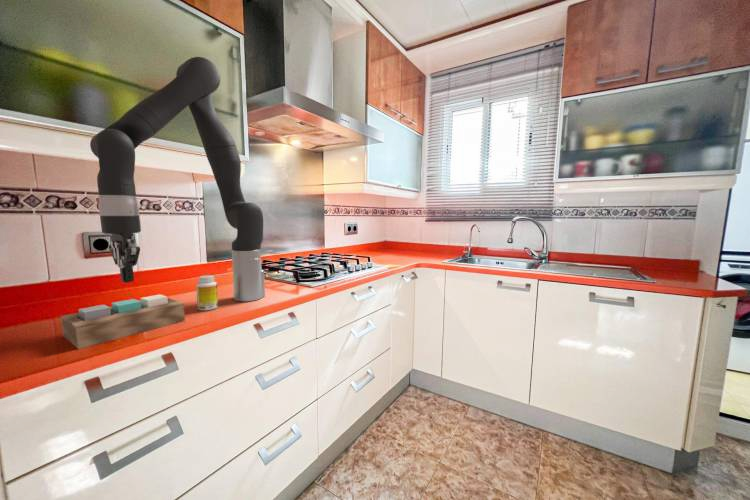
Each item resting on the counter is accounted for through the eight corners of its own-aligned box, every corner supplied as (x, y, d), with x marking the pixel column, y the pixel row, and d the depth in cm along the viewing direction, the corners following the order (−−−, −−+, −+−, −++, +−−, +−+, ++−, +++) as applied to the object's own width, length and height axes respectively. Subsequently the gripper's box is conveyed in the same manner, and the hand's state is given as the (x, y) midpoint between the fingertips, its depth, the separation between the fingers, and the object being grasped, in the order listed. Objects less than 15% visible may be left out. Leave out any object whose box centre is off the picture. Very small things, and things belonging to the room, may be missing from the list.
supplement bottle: (221, 308, 92) (219, 276, 91) (201, 312, 88) (199, 278, 87) (214, 304, 95) (213, 273, 94) (195, 308, 91) (193, 276, 90)
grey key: (105, 320, 73) (103, 304, 72) (111, 323, 70) (110, 307, 70) (80, 325, 69) (78, 309, 68) (86, 329, 66) (84, 312, 66)
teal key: (134, 313, 78) (133, 298, 77) (142, 316, 75) (140, 301, 75) (113, 318, 74) (111, 302, 73) (119, 321, 71) (118, 305, 71)
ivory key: (161, 308, 83) (160, 294, 82) (168, 310, 80) (167, 296, 80) (141, 312, 79) (140, 297, 78) (148, 315, 76) (147, 300, 76)
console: (164, 312, 87) (163, 296, 86) (184, 320, 80) (183, 303, 80) (63, 336, 69) (61, 316, 69) (78, 349, 63) (76, 326, 62)
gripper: (149, 214, 73) (156, 282, 75) (127, 214, 80) (134, 276, 82) (110, 214, 67) (119, 288, 69) (91, 214, 74) (99, 281, 76)
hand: (127, 281), depth 76 cm, fingers closed
